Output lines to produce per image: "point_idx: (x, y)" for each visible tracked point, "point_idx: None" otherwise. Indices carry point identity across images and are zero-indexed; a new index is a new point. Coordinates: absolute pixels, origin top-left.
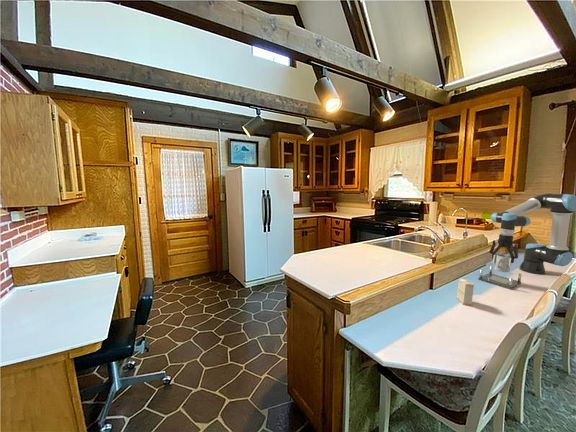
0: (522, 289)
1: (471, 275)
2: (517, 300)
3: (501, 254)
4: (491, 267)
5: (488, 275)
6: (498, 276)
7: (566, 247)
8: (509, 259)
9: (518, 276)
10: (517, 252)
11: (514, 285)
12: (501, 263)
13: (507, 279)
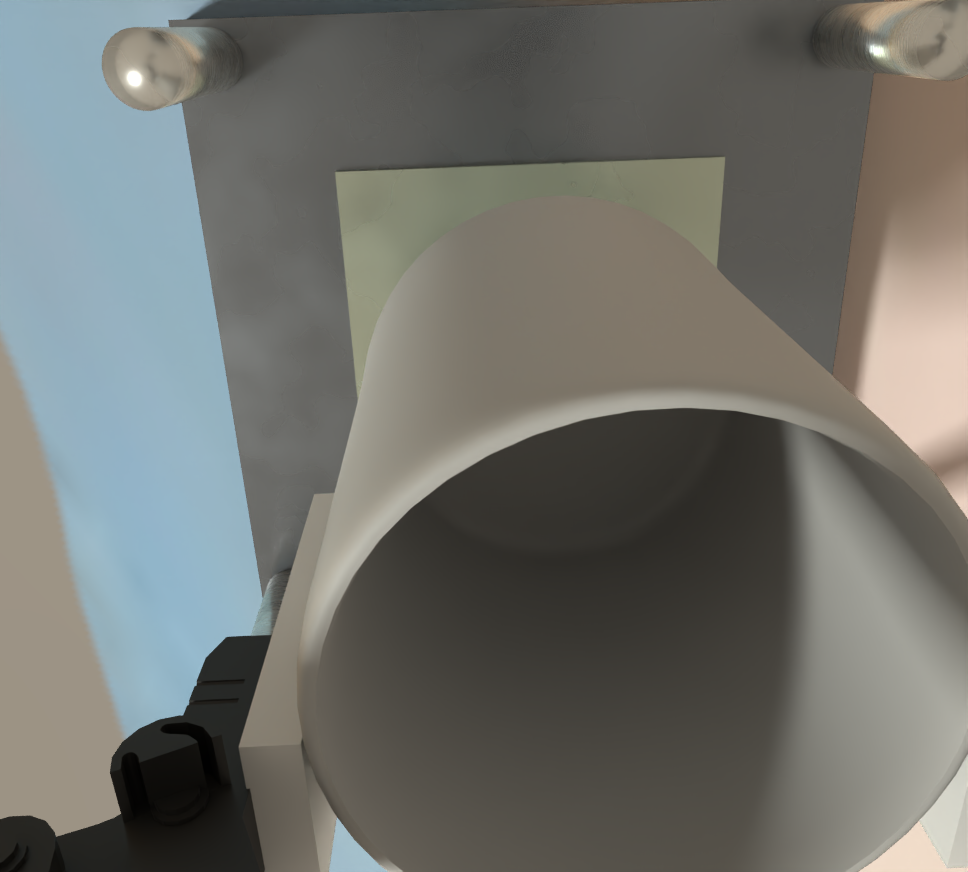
0: (928, 369)
1: (65, 472)
2: (927, 864)
3: (430, 490)
4: (173, 104)
5: (270, 267)
6: (420, 100)
7: None
8: (895, 729)
9: (879, 66)
10: None
11: None
12: (613, 701)
13: (633, 164)
